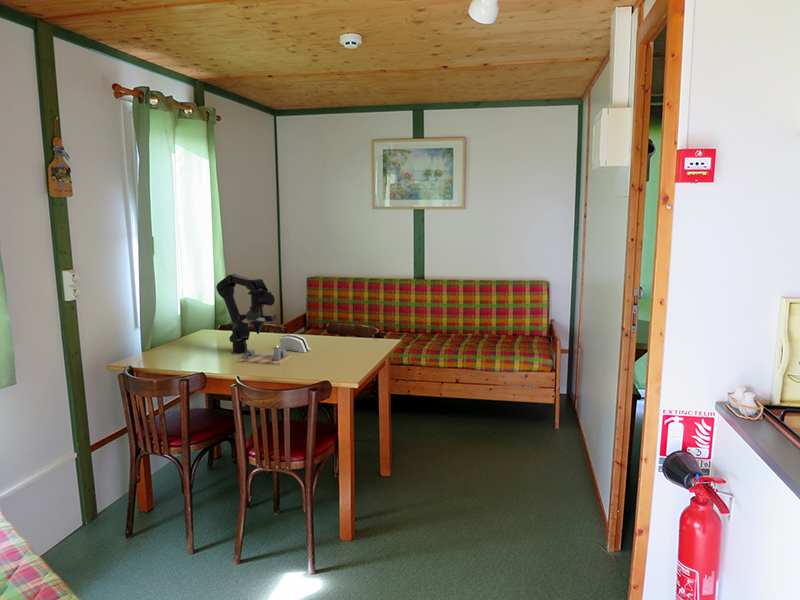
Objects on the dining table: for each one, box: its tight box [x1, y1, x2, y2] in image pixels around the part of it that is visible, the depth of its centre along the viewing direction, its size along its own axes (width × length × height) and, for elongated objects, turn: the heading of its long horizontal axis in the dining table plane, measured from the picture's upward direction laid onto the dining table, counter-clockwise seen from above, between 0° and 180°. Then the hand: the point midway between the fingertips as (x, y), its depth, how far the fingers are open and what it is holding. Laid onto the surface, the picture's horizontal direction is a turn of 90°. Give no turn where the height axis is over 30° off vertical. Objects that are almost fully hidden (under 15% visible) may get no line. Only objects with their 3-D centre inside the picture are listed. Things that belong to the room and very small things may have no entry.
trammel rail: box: [241, 349, 285, 359], centre depth 282 cm, size 20×8×3 cm, turn 78°
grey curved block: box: [279, 333, 311, 353], centre depth 302 cm, size 17×5×10 cm, turn 62°
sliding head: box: [273, 344, 287, 361], centre depth 280 cm, size 4×8×7 cm, turn 168°
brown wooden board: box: [237, 353, 292, 366], centre depth 282 cm, size 22×14×1 cm, turn 78°
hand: (258, 333), depth 288 cm, fingers closed
